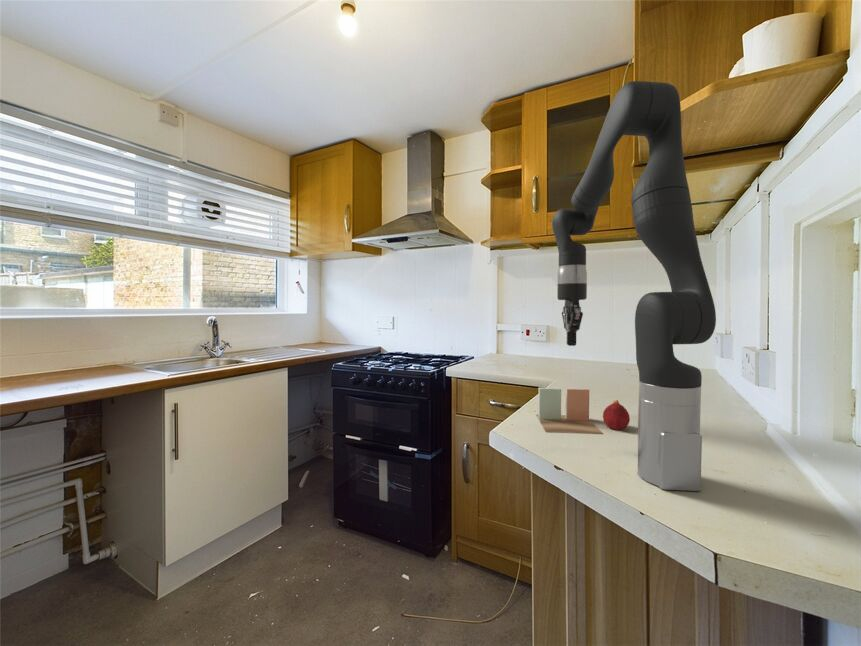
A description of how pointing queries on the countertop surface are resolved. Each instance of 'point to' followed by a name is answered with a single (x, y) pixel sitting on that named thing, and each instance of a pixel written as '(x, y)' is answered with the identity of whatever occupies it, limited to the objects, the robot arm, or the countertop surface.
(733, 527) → the countertop surface
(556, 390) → the sage tile
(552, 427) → the walnut board
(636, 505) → the countertop surface
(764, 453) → the countertop surface
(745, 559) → the countertop surface
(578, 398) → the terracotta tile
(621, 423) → the onion
